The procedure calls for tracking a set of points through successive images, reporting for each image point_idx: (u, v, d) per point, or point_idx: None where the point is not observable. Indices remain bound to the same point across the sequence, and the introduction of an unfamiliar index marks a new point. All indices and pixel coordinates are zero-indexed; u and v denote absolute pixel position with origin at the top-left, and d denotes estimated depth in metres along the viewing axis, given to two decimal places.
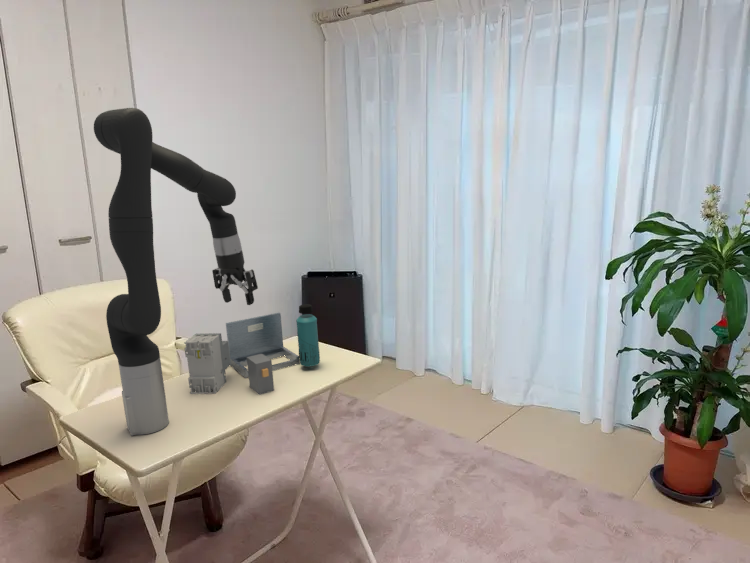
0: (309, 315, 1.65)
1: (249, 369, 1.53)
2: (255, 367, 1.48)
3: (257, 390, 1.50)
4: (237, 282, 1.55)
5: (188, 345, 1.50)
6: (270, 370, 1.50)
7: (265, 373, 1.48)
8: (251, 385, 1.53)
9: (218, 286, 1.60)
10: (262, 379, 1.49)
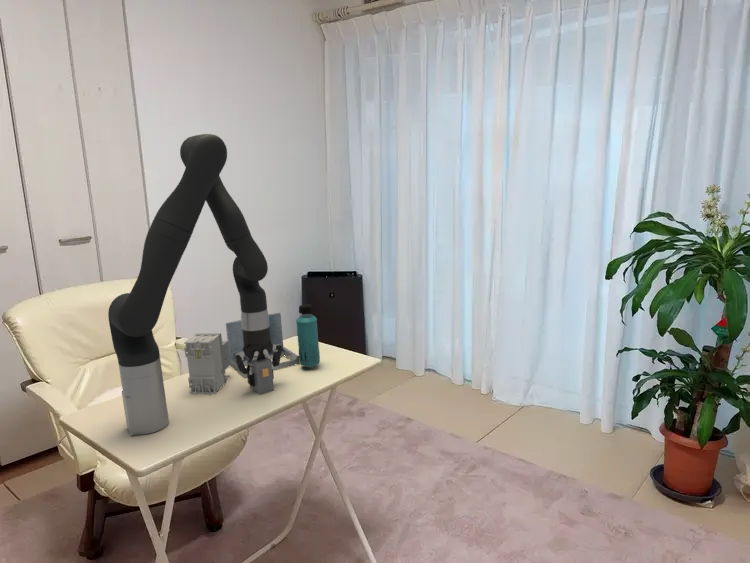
0: (309, 315, 1.65)
1: None
2: (255, 367, 1.48)
3: (257, 390, 1.50)
4: (267, 357, 1.51)
5: (188, 345, 1.50)
6: (270, 370, 1.50)
7: (265, 373, 1.48)
8: None
9: (246, 371, 1.49)
10: (262, 379, 1.49)
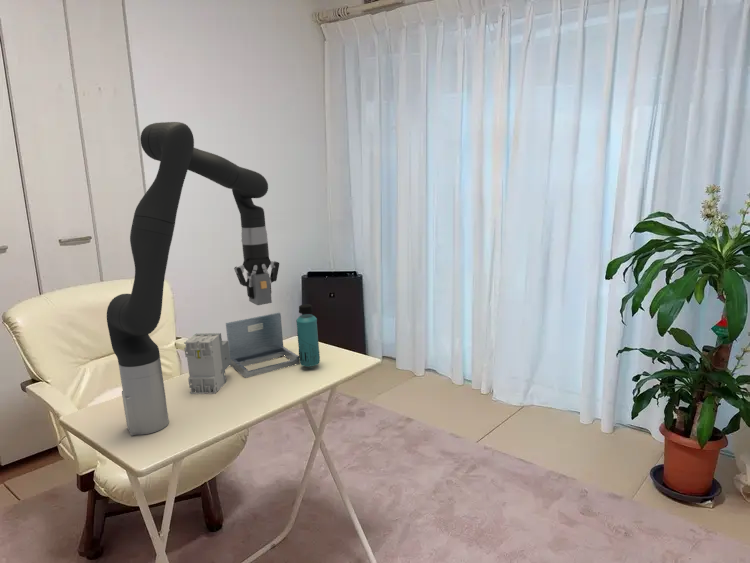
0: (309, 315, 1.65)
1: None
2: (254, 279, 1.61)
3: (256, 301, 1.62)
4: (265, 272, 1.64)
5: (188, 345, 1.50)
6: (268, 283, 1.63)
7: (263, 285, 1.61)
8: (250, 299, 1.66)
9: (246, 283, 1.62)
10: (261, 291, 1.62)
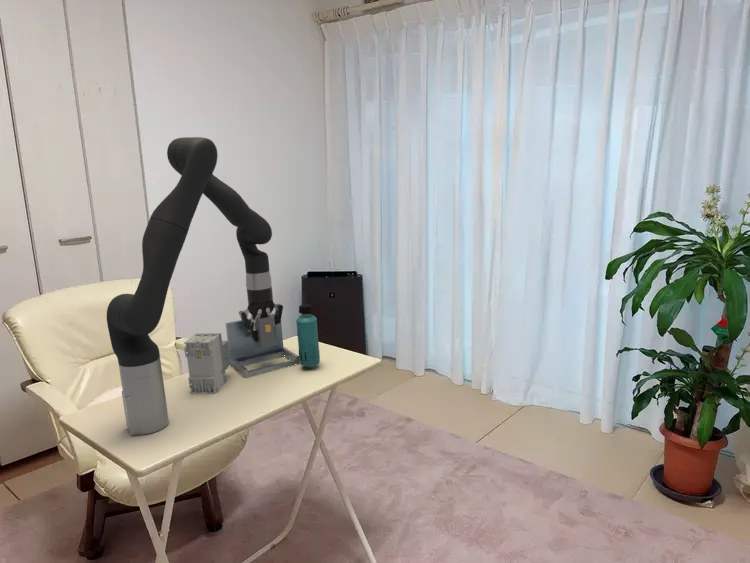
0: (309, 315, 1.65)
1: None
2: (259, 323, 1.64)
3: (260, 344, 1.65)
4: (269, 315, 1.67)
5: (188, 345, 1.50)
6: (272, 326, 1.66)
7: (267, 329, 1.64)
8: None
9: (250, 327, 1.65)
10: (265, 335, 1.65)
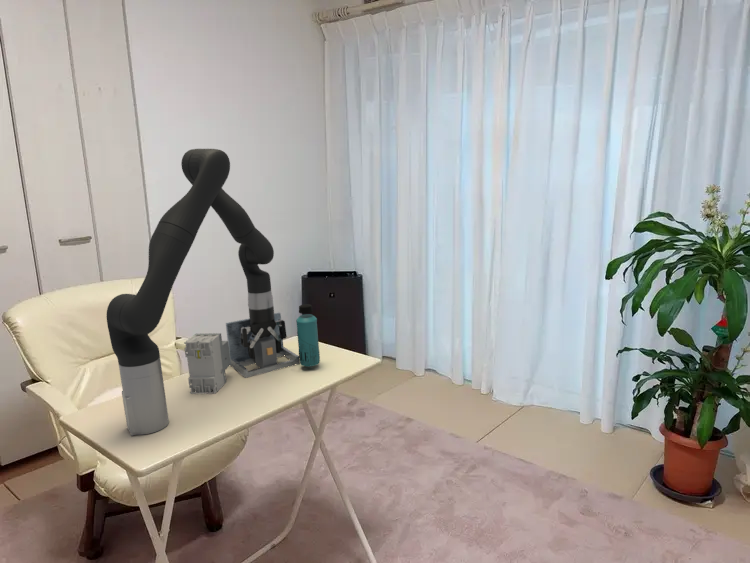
0: (309, 315, 1.65)
1: (255, 348, 1.70)
2: (261, 346, 1.65)
3: None
4: (273, 332, 1.68)
5: (188, 345, 1.50)
6: (274, 349, 1.67)
7: (269, 352, 1.66)
8: (257, 363, 1.71)
9: (247, 344, 1.65)
10: (267, 357, 1.66)
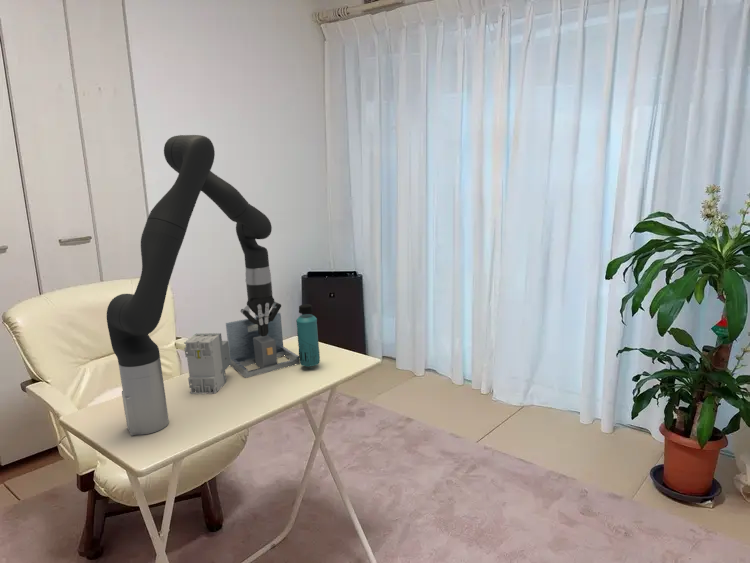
0: (309, 315, 1.65)
1: (255, 348, 1.70)
2: (261, 346, 1.65)
3: None
4: (266, 311, 1.66)
5: (188, 345, 1.50)
6: (274, 349, 1.67)
7: (269, 352, 1.66)
8: (257, 363, 1.71)
9: (257, 321, 1.66)
10: (267, 357, 1.66)
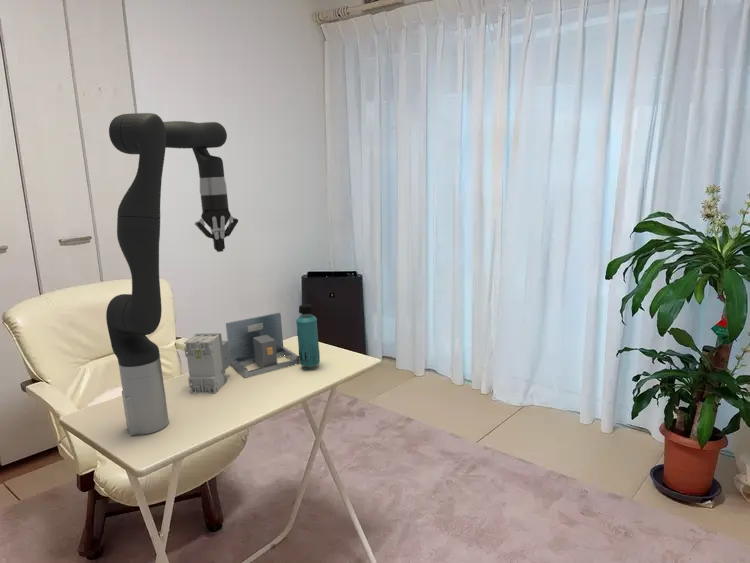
0: (309, 315, 1.65)
1: (255, 348, 1.70)
2: (261, 346, 1.65)
3: None
4: (222, 225, 1.60)
5: (188, 345, 1.50)
6: (274, 349, 1.67)
7: (269, 352, 1.66)
8: (257, 363, 1.71)
9: (212, 235, 1.60)
10: (267, 357, 1.66)
